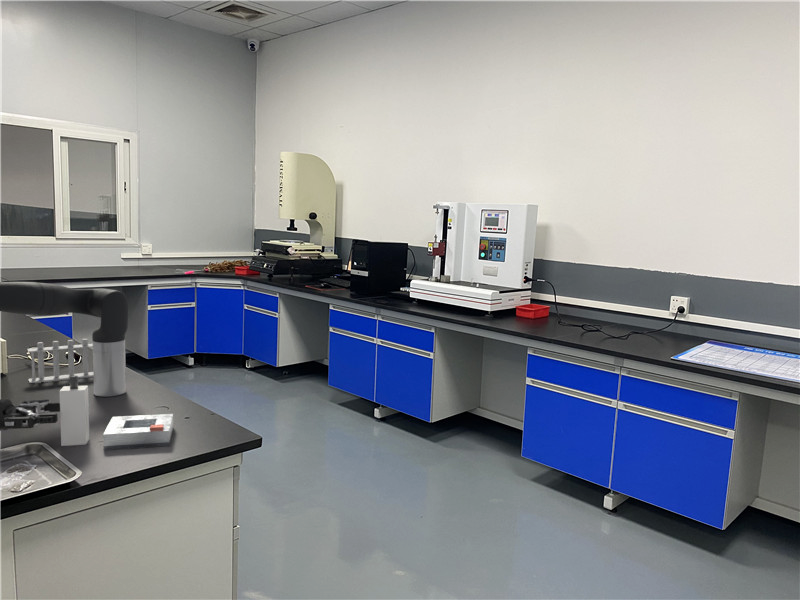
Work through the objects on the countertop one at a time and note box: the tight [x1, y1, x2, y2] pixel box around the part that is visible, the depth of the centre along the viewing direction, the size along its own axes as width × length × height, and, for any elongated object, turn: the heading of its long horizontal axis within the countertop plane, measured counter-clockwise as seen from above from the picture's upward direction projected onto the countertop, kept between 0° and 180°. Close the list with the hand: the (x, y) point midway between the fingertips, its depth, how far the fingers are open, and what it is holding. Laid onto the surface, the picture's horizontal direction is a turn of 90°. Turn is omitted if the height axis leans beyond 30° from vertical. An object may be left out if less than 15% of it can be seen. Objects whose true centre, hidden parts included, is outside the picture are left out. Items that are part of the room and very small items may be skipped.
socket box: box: [102, 413, 174, 451], centre depth 153 cm, size 13×15×5 cm
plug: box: [59, 376, 90, 447], centre depth 148 cm, size 4×6×17 cm
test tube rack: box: [26, 338, 93, 384], centre depth 203 cm, size 25×4×13 cm, turn 127°
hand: (61, 412), depth 147 cm, fingers open, 8 cm apart
